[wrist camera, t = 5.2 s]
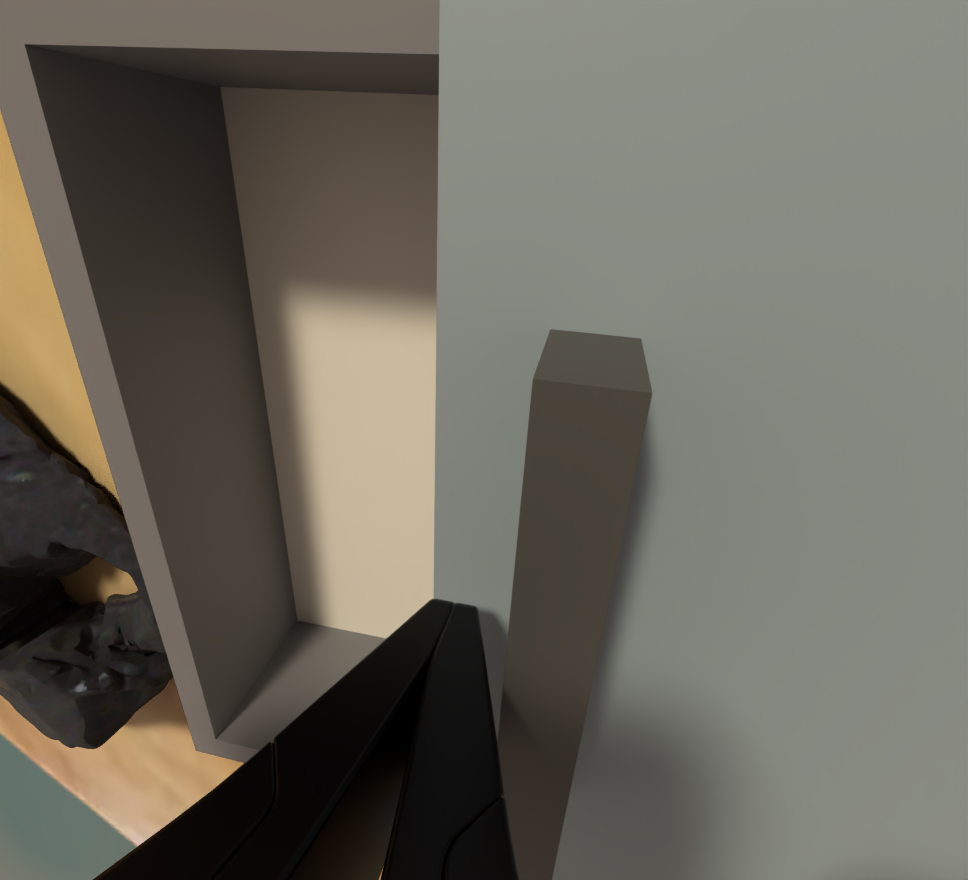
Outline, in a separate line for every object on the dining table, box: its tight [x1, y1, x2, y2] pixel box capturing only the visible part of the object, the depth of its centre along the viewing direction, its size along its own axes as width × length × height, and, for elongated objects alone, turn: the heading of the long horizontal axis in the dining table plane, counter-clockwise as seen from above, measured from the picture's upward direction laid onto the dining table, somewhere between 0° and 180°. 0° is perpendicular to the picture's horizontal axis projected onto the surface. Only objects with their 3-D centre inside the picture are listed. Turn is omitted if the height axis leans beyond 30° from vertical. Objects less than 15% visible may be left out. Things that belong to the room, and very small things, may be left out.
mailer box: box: [0, 0, 440, 763], centre depth 13 cm, size 16×18×6 cm
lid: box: [433, 0, 968, 880], centre depth 9 cm, size 16×20×4 cm
